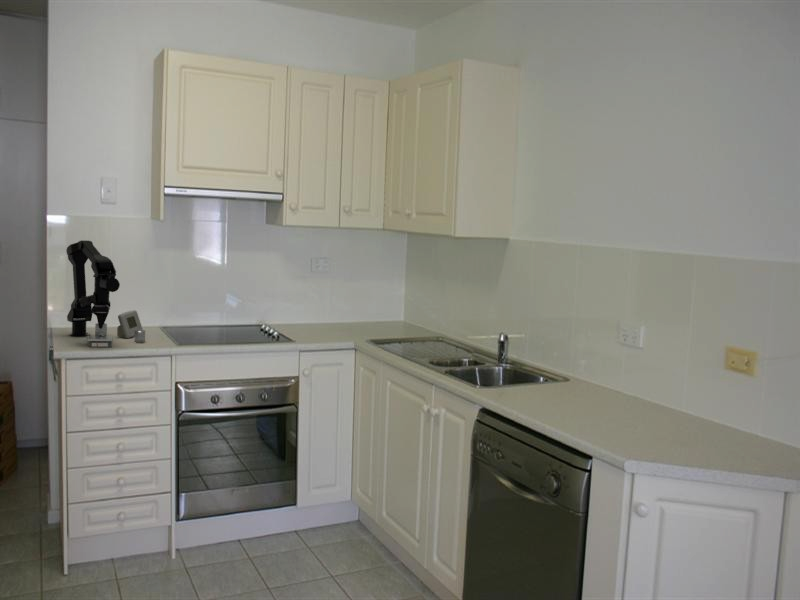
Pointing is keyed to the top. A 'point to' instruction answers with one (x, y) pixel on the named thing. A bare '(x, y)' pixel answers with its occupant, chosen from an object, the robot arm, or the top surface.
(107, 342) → the scale base
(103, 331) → the cylinder
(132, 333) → the digital clock
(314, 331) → the top surface
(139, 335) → the cylinder
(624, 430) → the top surface
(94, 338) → the platform
